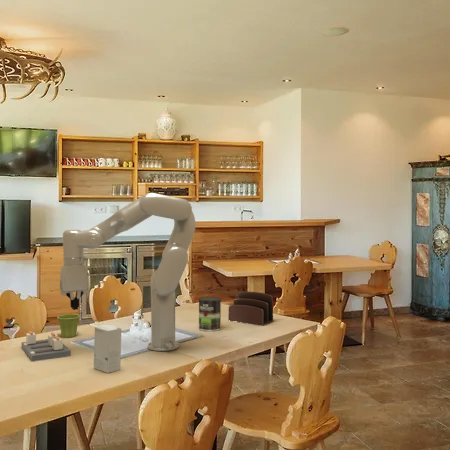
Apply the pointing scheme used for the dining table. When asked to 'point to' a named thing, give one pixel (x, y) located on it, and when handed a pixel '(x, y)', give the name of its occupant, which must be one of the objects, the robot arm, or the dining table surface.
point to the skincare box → (107, 348)
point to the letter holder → (252, 308)
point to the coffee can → (209, 313)
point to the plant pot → (68, 324)
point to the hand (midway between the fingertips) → (75, 309)
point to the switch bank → (44, 350)
